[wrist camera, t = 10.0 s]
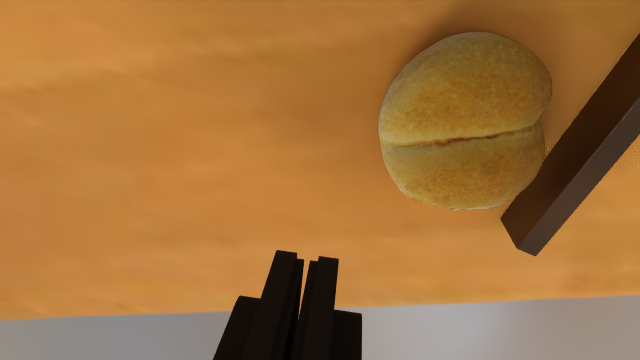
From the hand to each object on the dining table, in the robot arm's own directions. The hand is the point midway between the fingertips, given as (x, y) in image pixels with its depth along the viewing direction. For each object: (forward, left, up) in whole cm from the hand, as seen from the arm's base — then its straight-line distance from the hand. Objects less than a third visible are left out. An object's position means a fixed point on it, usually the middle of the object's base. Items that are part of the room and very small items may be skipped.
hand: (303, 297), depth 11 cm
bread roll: (-3, +6, -14) cm, 15 cm away
